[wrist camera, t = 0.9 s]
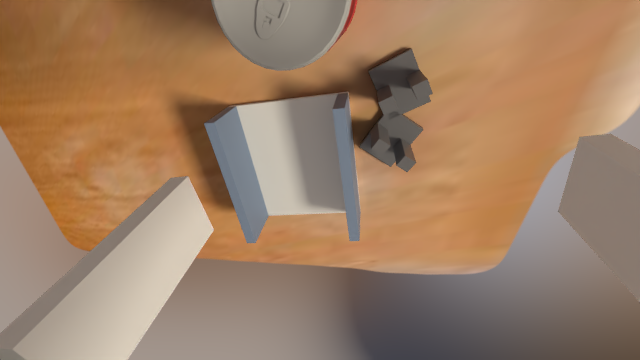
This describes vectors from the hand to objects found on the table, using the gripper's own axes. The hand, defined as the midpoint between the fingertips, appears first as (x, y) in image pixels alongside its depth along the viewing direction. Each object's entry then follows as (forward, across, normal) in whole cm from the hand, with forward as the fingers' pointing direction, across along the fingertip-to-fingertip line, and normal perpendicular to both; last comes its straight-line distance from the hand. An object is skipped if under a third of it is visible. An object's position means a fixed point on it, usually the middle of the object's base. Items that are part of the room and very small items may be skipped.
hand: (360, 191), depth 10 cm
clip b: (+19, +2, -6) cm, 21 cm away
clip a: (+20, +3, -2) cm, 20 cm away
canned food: (+20, -4, +7) cm, 21 cm away
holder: (+19, -8, -8) cm, 23 cm away
